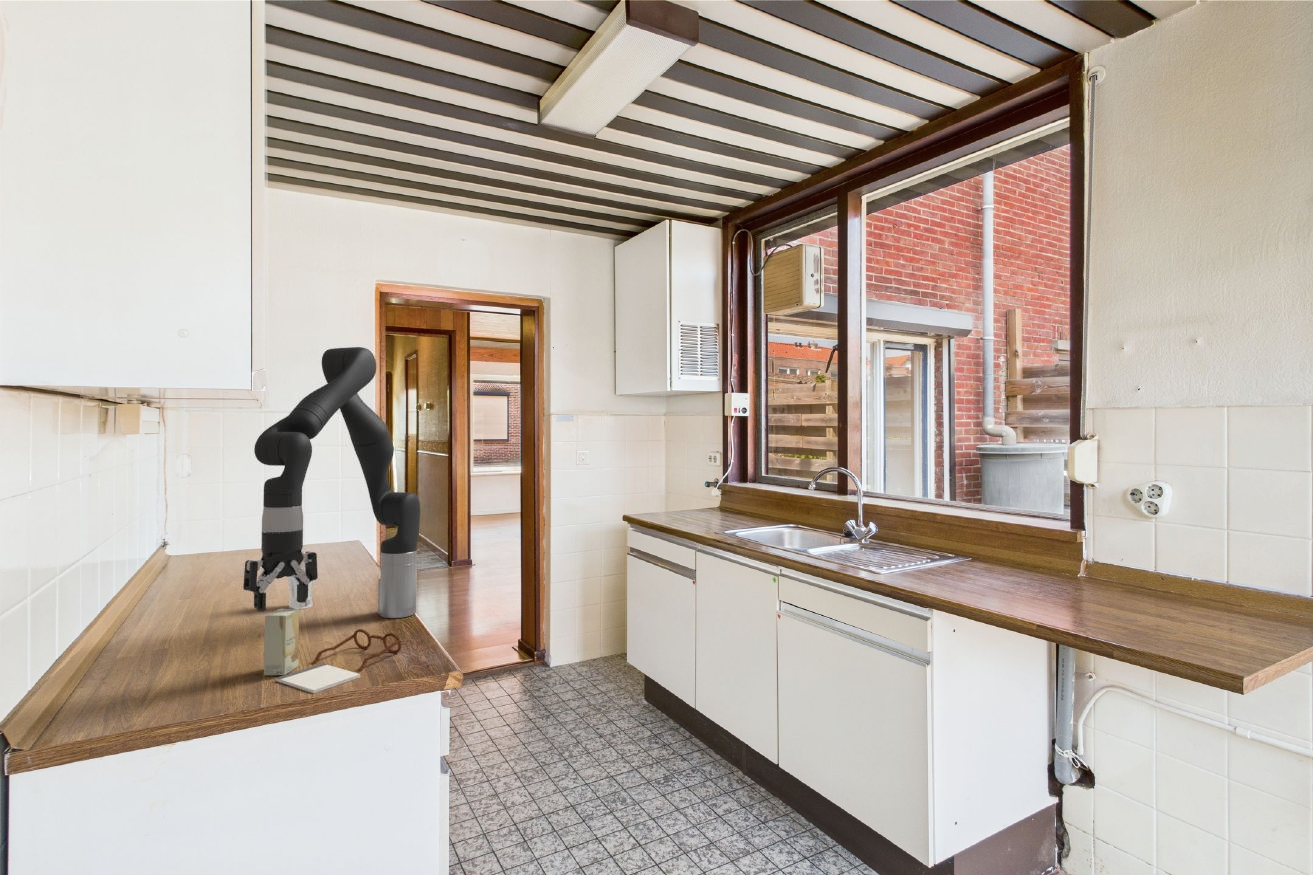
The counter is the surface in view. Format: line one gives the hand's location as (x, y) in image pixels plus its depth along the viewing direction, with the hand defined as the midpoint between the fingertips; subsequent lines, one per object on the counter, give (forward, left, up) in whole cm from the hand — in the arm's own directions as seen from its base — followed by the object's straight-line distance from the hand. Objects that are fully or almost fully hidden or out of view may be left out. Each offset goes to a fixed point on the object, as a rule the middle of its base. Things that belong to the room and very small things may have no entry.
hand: (281, 606), depth 140 cm
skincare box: (0, 0, -14) cm, 14 cm away
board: (+11, +1, -13) cm, 17 cm away
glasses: (+7, +13, -14) cm, 20 cm away
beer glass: (-46, +33, -14) cm, 58 cm away
